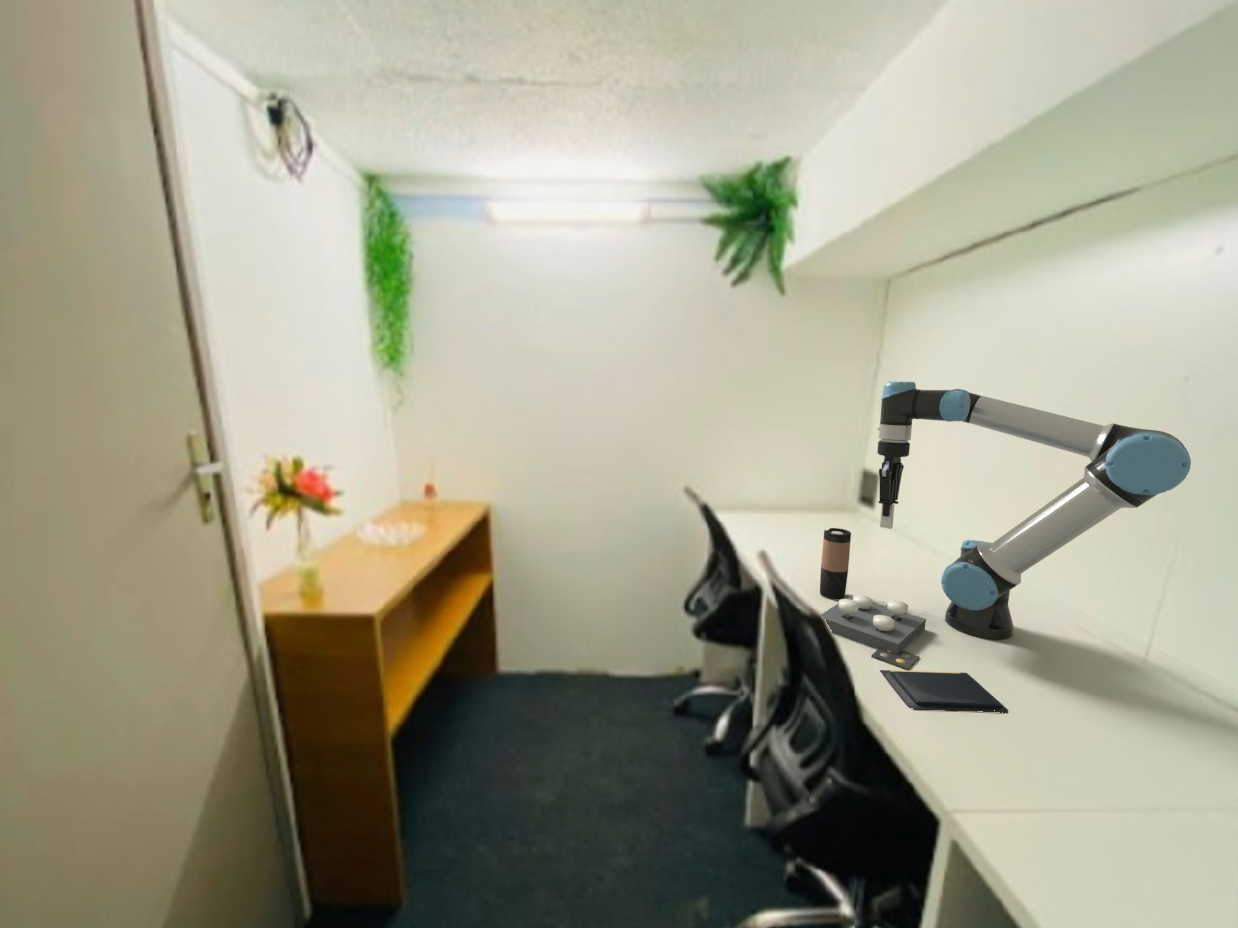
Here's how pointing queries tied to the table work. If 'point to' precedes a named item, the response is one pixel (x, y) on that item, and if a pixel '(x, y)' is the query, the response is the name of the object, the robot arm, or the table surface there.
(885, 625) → the button
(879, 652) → the card
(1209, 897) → the table surface
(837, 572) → the travel mug
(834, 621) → the button board
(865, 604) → the button
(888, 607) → the button
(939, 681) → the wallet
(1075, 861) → the table surface
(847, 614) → the button
